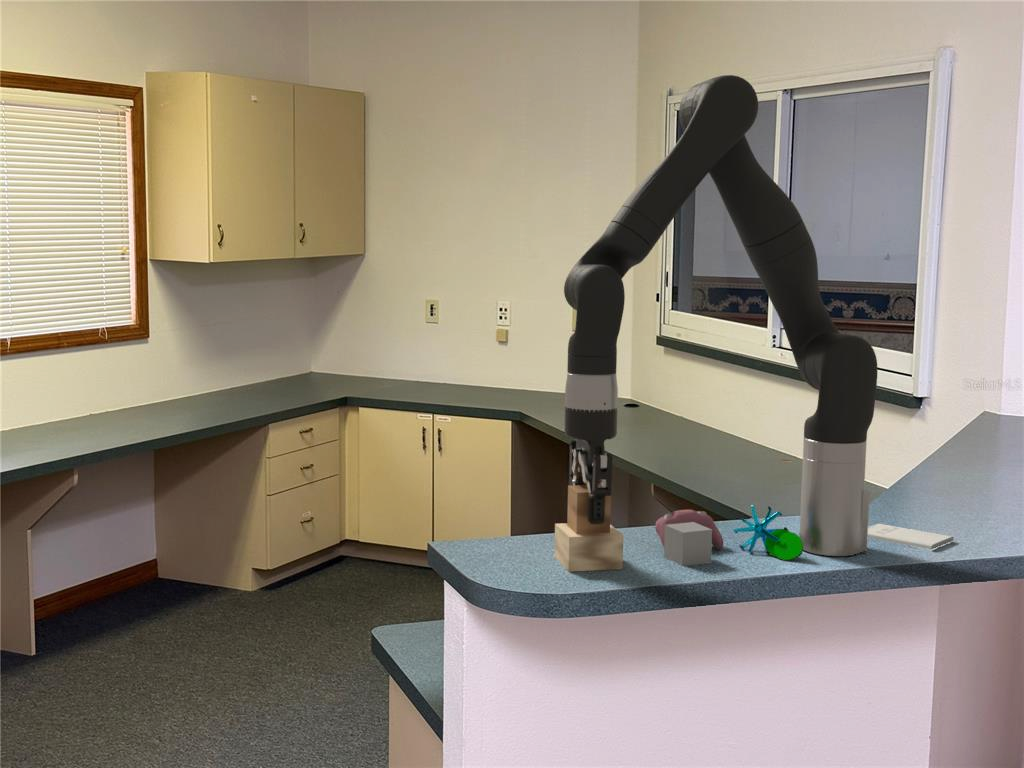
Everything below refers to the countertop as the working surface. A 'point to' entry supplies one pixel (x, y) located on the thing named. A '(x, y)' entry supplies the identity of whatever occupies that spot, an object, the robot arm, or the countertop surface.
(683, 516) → the video game controller
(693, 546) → the grey cube
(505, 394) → the countertop surface
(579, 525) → the walnut block
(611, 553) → the birch block
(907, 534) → the external hard drive
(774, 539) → the stick construction toy
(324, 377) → the countertop surface
